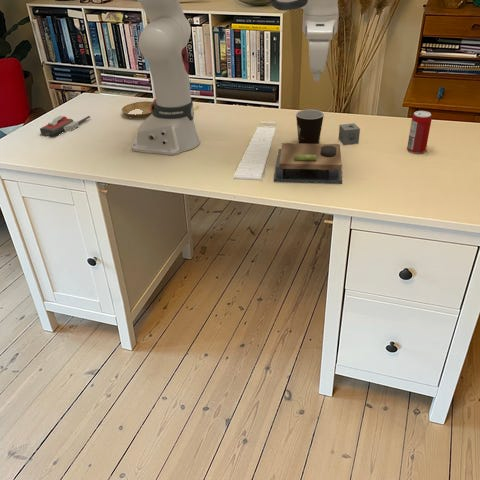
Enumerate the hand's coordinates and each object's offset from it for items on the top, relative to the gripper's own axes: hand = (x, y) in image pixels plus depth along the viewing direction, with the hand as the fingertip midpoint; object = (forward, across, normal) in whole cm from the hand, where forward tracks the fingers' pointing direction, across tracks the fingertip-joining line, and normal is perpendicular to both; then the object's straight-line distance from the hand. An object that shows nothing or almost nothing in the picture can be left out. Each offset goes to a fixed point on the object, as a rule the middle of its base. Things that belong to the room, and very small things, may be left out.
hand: (316, 79), depth 134 cm
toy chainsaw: (+27, -24, -89) cm, 96 cm away
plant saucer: (+26, -40, -65) cm, 81 cm away
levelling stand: (+25, +5, -1) cm, 25 cm away
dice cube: (+25, -17, +12) cm, 33 cm away
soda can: (+25, -11, +32) cm, 42 cm away
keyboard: (+26, -10, -17) cm, 33 cm away
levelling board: (+21, +5, 0) cm, 22 cm away
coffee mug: (+25, -16, -1) cm, 30 cm away
